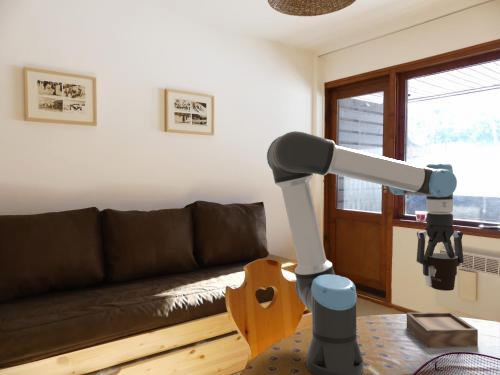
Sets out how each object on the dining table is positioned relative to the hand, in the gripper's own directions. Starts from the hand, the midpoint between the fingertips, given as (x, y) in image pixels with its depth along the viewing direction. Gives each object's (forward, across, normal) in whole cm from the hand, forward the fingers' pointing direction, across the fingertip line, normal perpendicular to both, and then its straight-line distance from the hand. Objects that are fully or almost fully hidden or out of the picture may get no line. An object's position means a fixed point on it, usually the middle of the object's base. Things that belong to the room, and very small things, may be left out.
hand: (439, 285), depth 121 cm
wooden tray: (+16, 0, 0) cm, 16 cm away
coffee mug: (0, 0, 0) cm, 1 cm away
